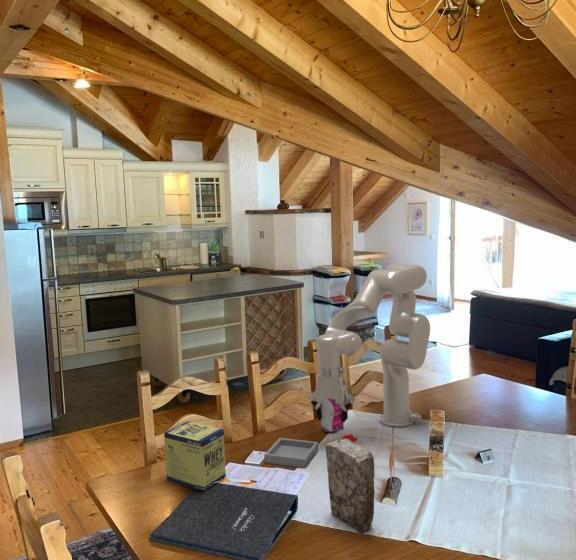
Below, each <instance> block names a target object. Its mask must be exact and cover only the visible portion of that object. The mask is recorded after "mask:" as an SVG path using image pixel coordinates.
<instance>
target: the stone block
mask: <svg viewBox="0 0 576 560" xmlns="http://www.w3.org/2000/svg"><path fill="white" fill-rule="evenodd" d="M325 453H326V454H325V455H326V466H327V468H326V469H327V479H328V492H329V493H328V494H329V504H330V511H331V513H330V514H331V515H332V516H334V518H337V519H338V520H339V521H341V522H342V523H344V524H346V525H347V526H349V527H350V528H351V529H354V530H355V531H356V532H358V533H359V534H365V533H366V532H368V531H369V530H370V528H371V527H372V524H373V523H372V522H373V521H374V515H375V459H374V455H373V453H372V452H371V450H369V449H367V448H366V447H364V446H362V445H359V444H357V443H356V442H354V443H353V442H351V441H350V440H348V439H336V440H334V441H330V442H327V443H326V446H325Z"/></svg>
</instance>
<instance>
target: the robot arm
mask: <svg viewBox="0 0 576 560" xmlns="http://www.w3.org/2000/svg"><path fill="white" fill-rule="evenodd" d="M427 276H428V275H427V271H426V270H425V268H424V267H422V266H421V265H417V264H406V263H405V264H404V263H391V264H389V265H387V266H386V267H385V269H373V270H371V272H370V273H369V274H367V277H366V279H365V280H364V282H363V284H362V286H361V287H360V289H359V291H358V293H357V294H356V296H355V298H354V300H353V301H352V302H351V303H349V304H348V305H346V306H345V307H343V308H342V309H341V310H340V311H338V312H337V313H336V314H335V315H334V316H333V318H332V319H331V321H330V322H329V324H328V326H327V327H326V330H325V332H324V334H321V335H319V336H318V337H317V338H316V350H317V351H316V352H317V365H318V370H317V371H318V373H317V374H316V379H315V390H314V391H313V392H311V393H310V394H309V395H307V399H308V400H309V402H310V403H311V405H312V406H313V407H314V409H315V410H316V417H317V421H321V403H322V404H324V401H325V399H333V400H335V403H336V404H337V405H340V406H341V408H342V409H343V410H342V422H343V423H345V422H346V421H347V420H348V418H349V416H348V415H349V414H348V410H349V409H350V408H351V407H352V405H353V404H354V402H355V401H356V398H355V397H354V396H353V395H352V394H350V393H349V392H348V391H347V385H346V378H345V376H344V373H345V371H346V369H345V367H342V365H341V355H351V354H355V353H356V352H358V351H359V350H360V349H361V347H362V343H363V342H362V341H363V340H362V338H361V336H360V335H359V334H358V333H356V332H354V331H349V330H346V329H347V328H348V327H349V326H350V325H352V324H353V323H355V322H357V321H360V320H363V319H365V318H368V317H371V316H373V315H375V313H376V311H377V309H378V307H379V306H380V304H381V302H382V300H383V298H384V297H385V295H386V294H387V295H392V296H393V297H392V298H393V299H392V305H391V311H390V316H389V323H388V330H389V332H390V333H391V334H392V335H394V336H397V337H401V338H406V339H408V341H406V340H402V339H401V340H400V339H394V338H391V339H390V338H389V339H386V340H385V341H384V342H382V344H381V346H380V348H379V356H380V361H381V367H382V381H383V382H382V383H383V384H382V387H383V389H382V391H383V394H382V395H383V399H382V400H383V414H381V415H380V416H379V422H380V423H381V424H382V425H384V426H388V427H393V426H395V428H400V427H401V428H402V427H407V426H411V425H412V424H413V423H414V420H419V421H421V420H422V414H419V412H413V411H412V410H411V409H412V408H411V407H410V390H409V389H410V388H409V386H410V384H409V383H410V382H409V381H410V380H409V379H410V378H409V372H408V370H418V369H421V367H422V366H423V364H424V363H425V361H426V356H427V352H428V345H429V340H430V334H431V323H430V320H429V318H428V317H427V316H426V315H424V314H421V313H415V312H416V304H417V296H416V294H415V291H416V290H418V289H421V288H422V287H423V286H424V285H425V284H426V281H427ZM314 397H315V399H314ZM346 400H349V401H348V402H347V401H346Z"/></svg>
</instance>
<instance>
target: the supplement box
mask: <svg viewBox="0 0 576 560" xmlns="http://www.w3.org/2000/svg"><path fill="white" fill-rule="evenodd" d="M342 410H343V409H342V408H341V406H340V405H337V404H336V403H335V400H333V399H325V401H324V404H322V403H321V420H320V421H321V424H320V425H321V429H322V428H323V429H325V430H326V431H328V432H329V433H330V432H332V433H334V432H333V431H336V432H338V431H340V430H344V426H345V425H344V422H342ZM328 432H327V433H328Z"/></svg>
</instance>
